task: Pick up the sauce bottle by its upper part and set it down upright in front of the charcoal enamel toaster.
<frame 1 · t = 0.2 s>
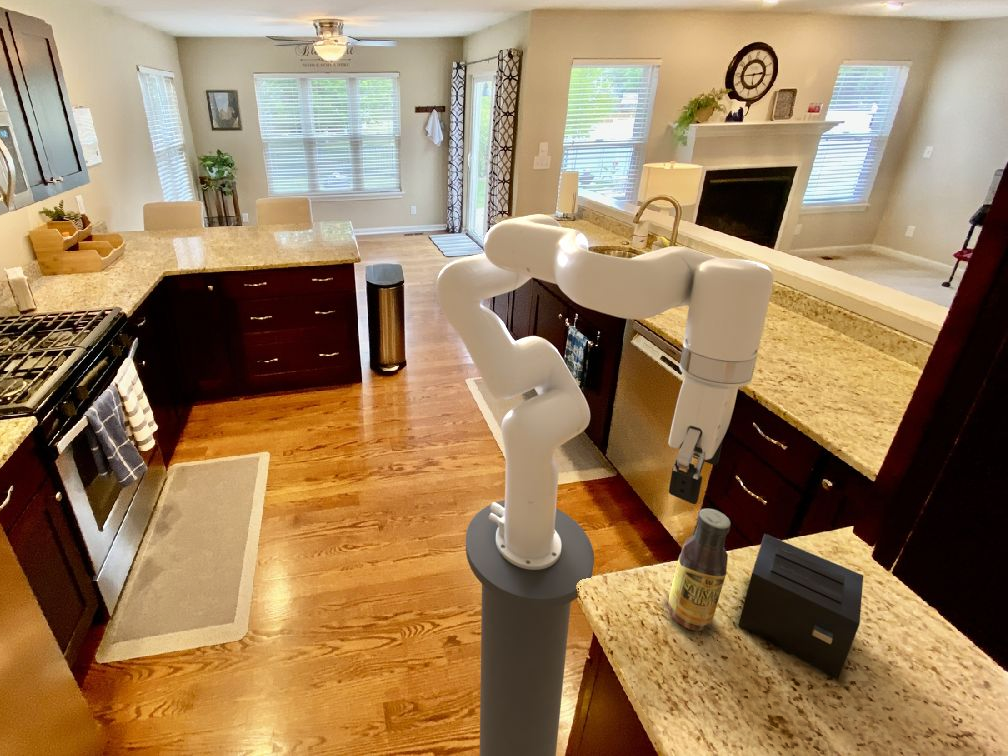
hand: (693, 478, 64), 30 cm above the countertop, tool pointing down, fingers open, 9 cm apart
sauce bottle: (689, 616, 78), on the countertop
toaster: (790, 627, 75), on the countertop
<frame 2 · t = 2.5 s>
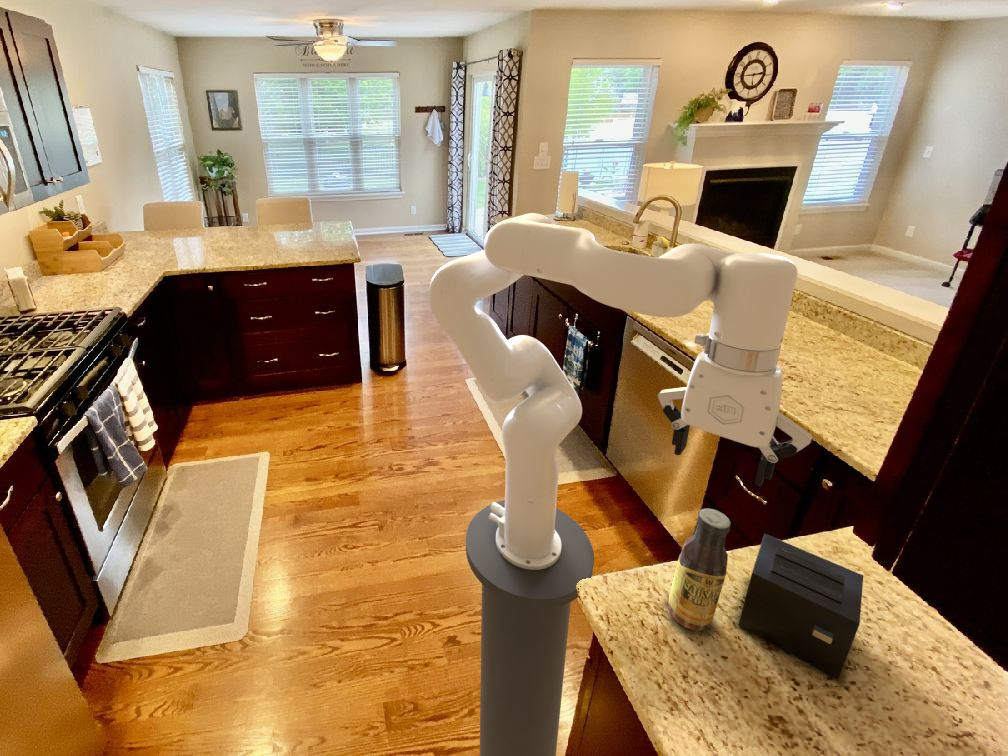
hand: (718, 464, 67), 30 cm above the countertop, tool pointing down, fingers open, 9 cm apart
nothing on the countertop moved.
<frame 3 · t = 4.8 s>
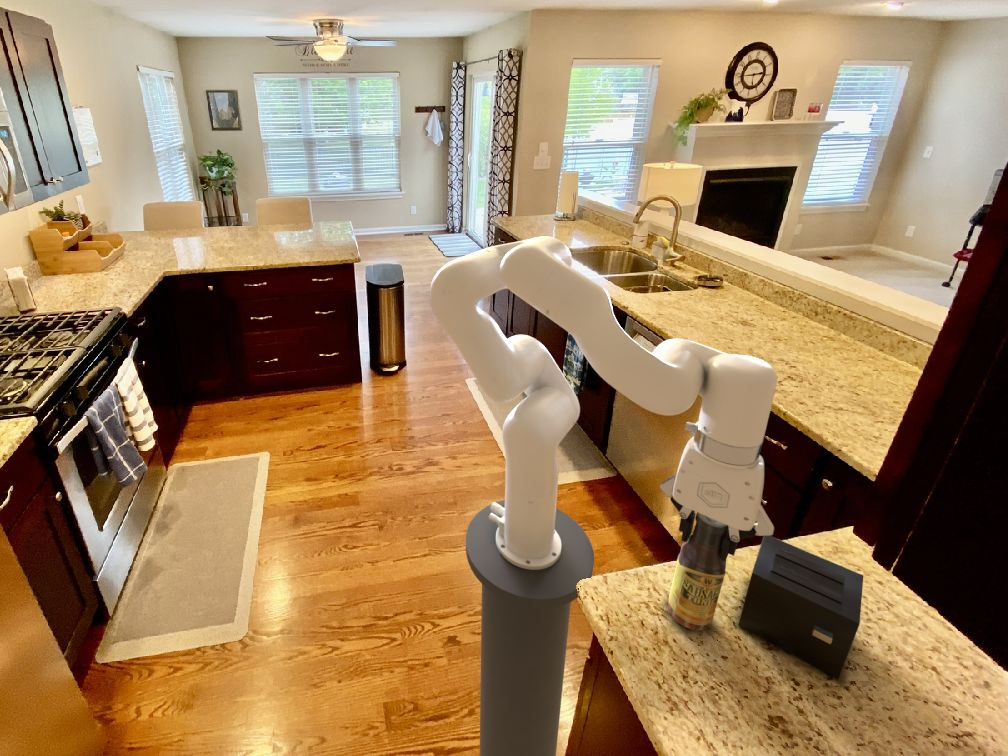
hand: (705, 544, 73), 15 cm above the countertop, tool pointing down, fingers closed on sauce bottle, 4 cm apart
sauce bottle: (689, 616, 78), on the countertop, touching gripper
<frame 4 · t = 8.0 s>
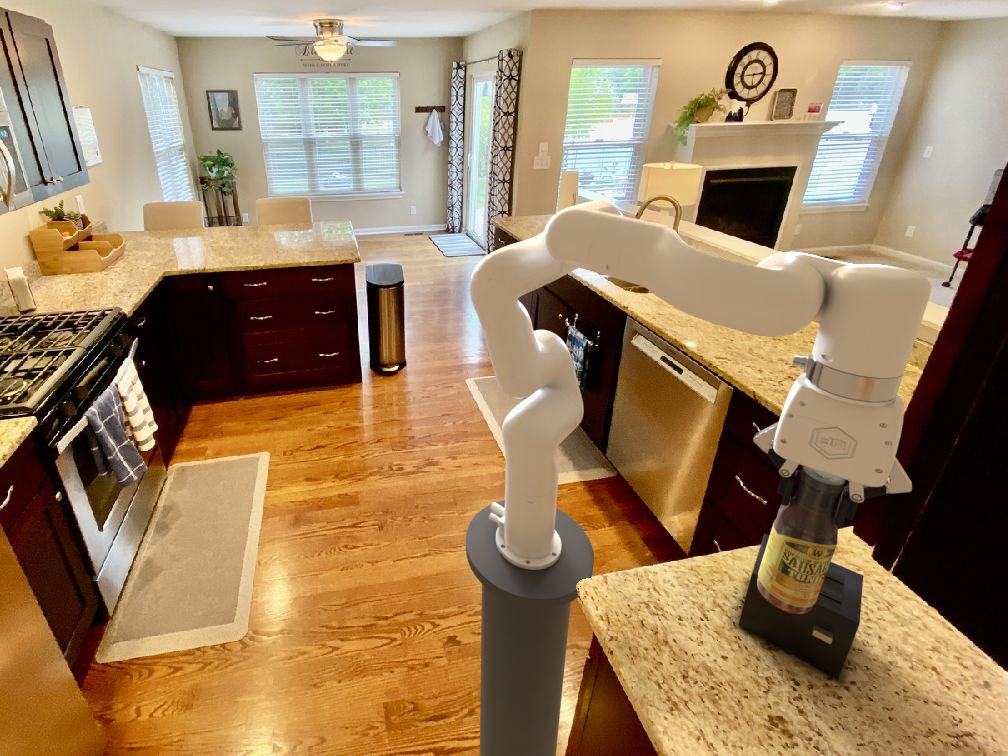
hand: (812, 508, 59), 29 cm above the countertop, tool pointing down, fingers closed on sauce bottle, 4 cm apart
sauce bottle: (784, 597, 65), point 14 cm above the countertop, touching gripper
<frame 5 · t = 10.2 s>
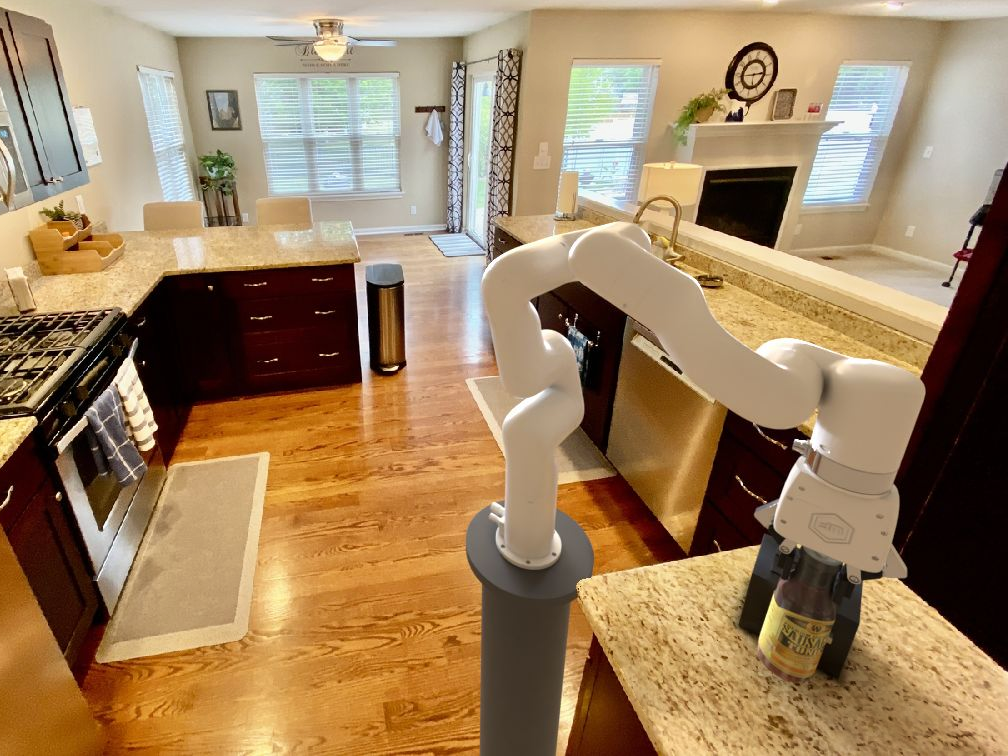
hand: (810, 583, 61), 19 cm above the countertop, tool pointing down, fingers closed on sauce bottle, 4 cm apart
sauce bottle: (784, 664, 66), point 4 cm above the countertop, touching gripper
when the fingers open (15 cm above the countertop, at t = 11.6 s): sauce bottle stays where it is, on the countertop.
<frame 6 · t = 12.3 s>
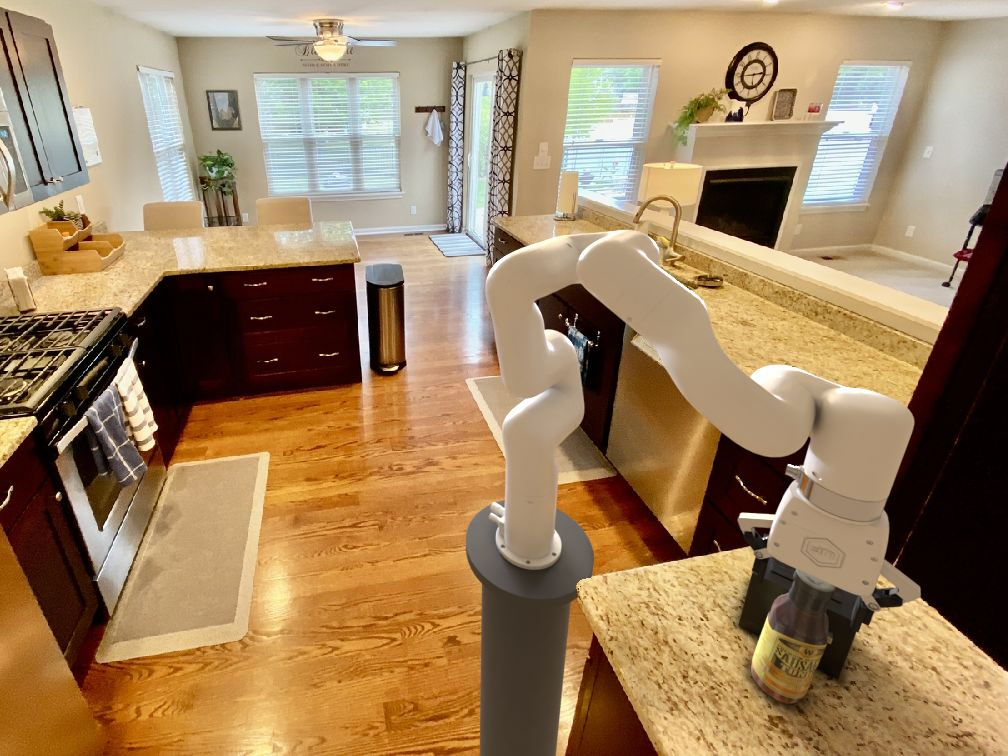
hand: (805, 598, 62), 16 cm above the countertop, tool pointing down, fingers open, 9 cm apart
sauce bottle: (777, 684, 68), on the countertop
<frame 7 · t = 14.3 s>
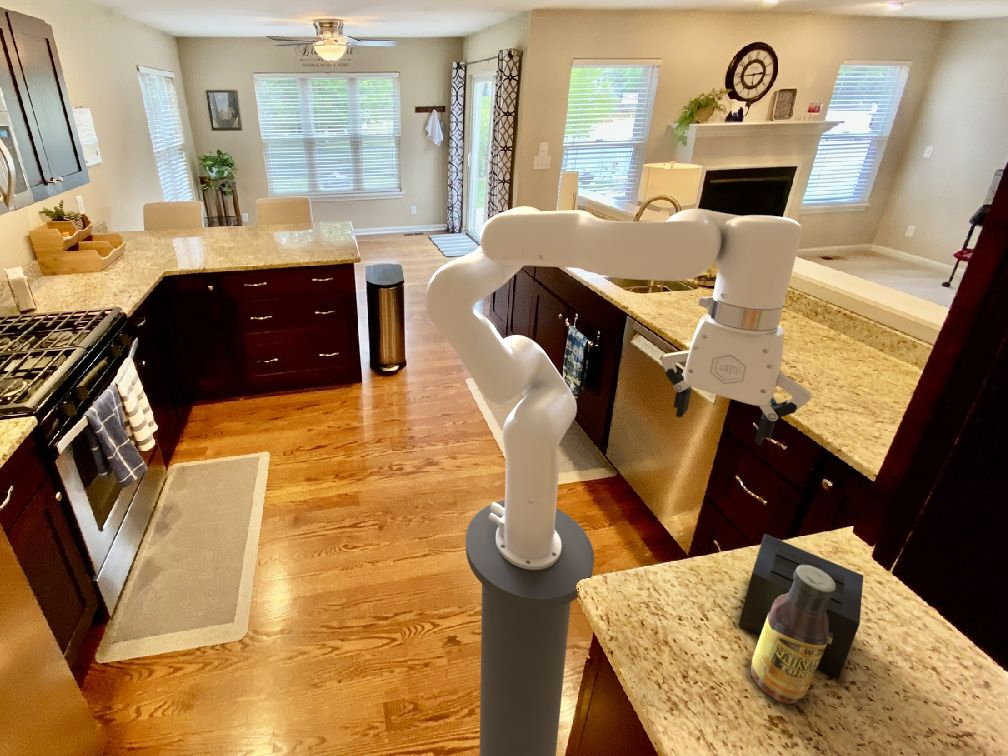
hand: (718, 425, 68), 34 cm above the countertop, tool pointing down, fingers open, 9 cm apart
nothing on the countertop moved.
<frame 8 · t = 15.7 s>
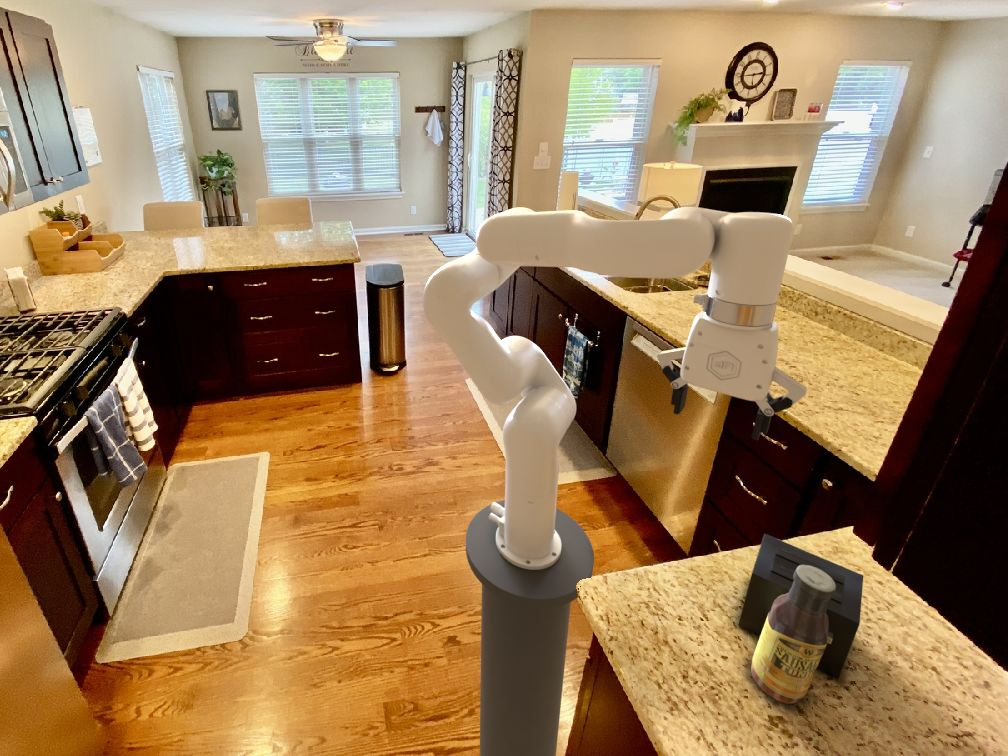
hand: (715, 422, 69), 34 cm above the countertop, tool pointing down, fingers open, 9 cm apart
nothing on the countertop moved.
at the end: sauce bottle inside the target area on the countertop beside the toaster (0.1 cm from its centre), on the countertop; sauce bottle tilted 0°; the gripper is holding nothing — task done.
